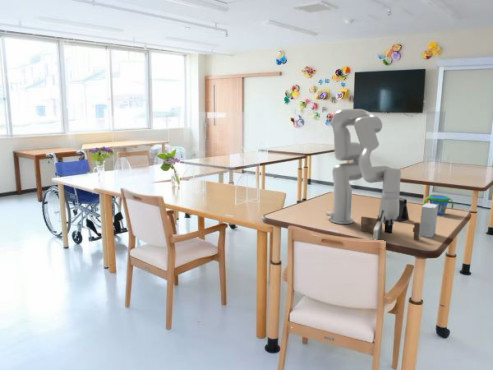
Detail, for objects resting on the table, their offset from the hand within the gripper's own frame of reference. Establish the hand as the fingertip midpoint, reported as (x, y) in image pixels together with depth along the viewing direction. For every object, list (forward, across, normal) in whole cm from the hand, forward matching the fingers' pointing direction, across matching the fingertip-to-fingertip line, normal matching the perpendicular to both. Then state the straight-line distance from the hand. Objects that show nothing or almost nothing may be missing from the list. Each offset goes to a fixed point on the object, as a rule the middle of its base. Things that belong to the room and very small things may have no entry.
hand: (388, 232), depth 197 cm
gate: (+2, +4, -3) cm, 6 cm away
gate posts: (+3, -5, -3) cm, 6 cm away
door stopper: (+3, -33, -16) cm, 37 cm away
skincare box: (+3, -20, +9) cm, 22 cm away
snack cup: (+3, -62, -10) cm, 63 cm away
